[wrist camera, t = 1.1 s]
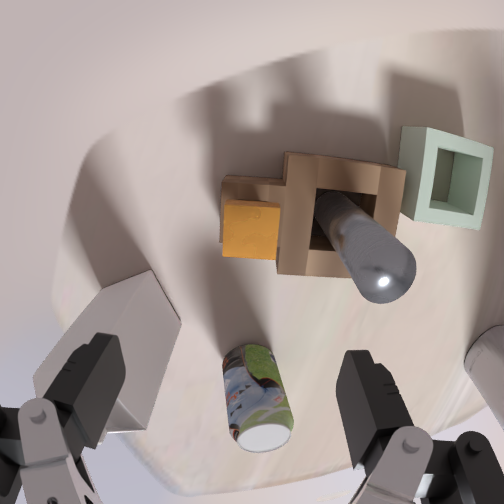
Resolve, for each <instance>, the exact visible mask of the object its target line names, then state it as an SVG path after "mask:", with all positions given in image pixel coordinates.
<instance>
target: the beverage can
mask: <svg viewBox="0 0 504 504" xmlns="http://www.w3.org/2000/svg"><path fill="white" fill-rule="evenodd" d="M222 368H223V378H224V387H225V396H226V405H227V414H228V423H229V431H230V434H231V436H232V438H233V439H234V440H235V441H236V442H237V444H238V446H239V447H240V448H241V449H243V450H245V451H248V452H253V453H263V452H269V451H273V450H276V449H278V448H280V447H282V446H283V445H285V444H286V443H287V442H288V441H289V439H290V437H291V431H292V429H293V425H294V420H293V416H292V413H291V409H290V406H289V403H288V400H287V397H286V393H285V390H284V387H283V384H282V380H281V377H280V374H279V370H278V367H277V364H276V361H275V357H274V355H273V353H272V352H271V351H270V350H269V349H267V348H265V347H263V346H260V345H254V344H249V345H243V346H240V347H237V348H235V349H233V350H232V351H230V352H229V353H228V354H227V355H226V357H225V358H224V360H223V364H222Z"/></svg>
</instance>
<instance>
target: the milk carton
mask: <svg viewBox="0 0 504 504" xmlns="http://www.w3.org/2000/svg"><path fill="white" fill-rule="evenodd" d="M181 325H182V324H181V322H180V320H179V318H178V317H177V315H176V313H175V312H174V310H173V308H172V306H171V305H170V303H169V301H168V299H167V297H166V296H165V294H164V292H163V290H162V288H161V287H160V285H159V283H158V281H157V279H156V277H155V276H154V274H153V272H152V270H149V271H146V272H143V273H141V274H138V275H136V276H133V277H131V278H128V279H126V280H123V281H121V282H118V283H116V284H113V285H111V286H108V287H106V288H103V289H102V290H101V291H100V292H99V293H98V294H97V295H96V296H95V298H94V299H93V300H92V301H91V302H90V304H89V305H88V306H87V307H86V308H85V309H84V311H83V312H82V313H81V314H80V316H79V317H78V318H77V319H76V320H75V322H74V323H73V324H72V325H71V327H70V328H69V329H68V330H67V332H66V333H65V334H64V335H63V337H62V338H61V339H60V341H59V342H58V343H57V344H56V346H55V347H54V348H53V349H52V351H51V352H50V353H49V355H48V356H47V357H46V359H45V360H44V361H43V363H42V364H41V365H40V367H39V368H38V369H37V371H36V372H35V374H34V375H33V382H34V387H35V393H36V398H42V397H43V396H44V394H45V393H46V391H47V390H48V388H49V387H50V385H51V383H52V382H53V380H54V379H55V377H56V376H57V374H58V373H59V371H60V370H62V367H63V365H64V364H65V363H66V362H67V360H68V358H69V357H70V355H71V354H72V352H73V351H74V350H76V349H77V348H78V347H80V346H81V345H83V344H89V342H90V341H91V339H92V338H93V337H94V335H95V334H96V333H97V332H100V333H107V334H113V335H117V336H118V338H119V341H120V345H121V350H122V354H123V358H124V363H125V367H126V376H125V381H124V384H123V386H122V388H121V391H120V393H119V395H118V397H117V400H116V402H115V404H114V406H113V409H112V411H111V413H110V416H109V418H108V420H107V423H106V425H105V427H104V430H103V432H102V434H101V437H100V439H99V442H98V444H102V443H103V441H104V439H105V436H106V434H107V433H119V432H133V431H144V430H146V429H147V426H148V422H149V419H150V416H151V413H152V410H153V407H154V404H155V401H156V398H157V395H158V392H159V389H160V386H161V383H162V380H163V377H164V374H165V371H166V368H167V365H168V362H169V359H170V357H171V354H172V351H173V348H174V345H175V342H176V339H177V337H178V334H179V331H180V328H181ZM98 444H97V445H98Z"/></svg>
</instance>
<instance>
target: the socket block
mask: <svg viewBox="0 0 504 504" xmlns="http://www.w3.org/2000/svg"><path fill="white" fill-rule="evenodd" d="M405 176H406V170H403V169H400V168H396V167H393V166H390V165H386V164H380V163H373V162H367V161H360V160H353V159H346V158H339V157H331V156H322V155H314V154H304V153H294V152H284V164H283V176H282V179H277V178H264V177H249V176H233V175H226V177H225V178H224V180H223V181H222V189H221V212H220V240H219V242H220V243H223V227H224V204H225V202H226V200H227V199H230V200H240V199H242V200H257V201H266V202H274V203H279V205H280V219H279V230H278V240H277V250H276V267H277V274H284V275H301V276H318V277H336V278H352V277H351V276H350V274H349V272H348V271H347V269H346V267H345V266H344V264H343V262H342V261H341V259H340V257H339V256H338V254H337V252H336V251H335V249H334V247H333V246H332V244H331V242H330V241H329V239H328V238H327V236H316V235H311V229H312V222H313V213H314V205H315V196H316V188H322V189H332V190H341V191H350V192H358V193H361V199H360V206H359V207H360V208H361V209H362V210H363V211H364V212H366V213H367V214H368V215H369V216H371V217H372V218H373V219H374V220H375V221H377V222H378V223H379V224H380V225H381V226H382V227H384V228H385V229H386V230H387V231H388V232H390V233H391V234H392V235H393V236H394V237H395V234H396V229H397V224H398V219H399V214H400V208H401V202H402V196H403V190H404V183H405Z"/></svg>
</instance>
